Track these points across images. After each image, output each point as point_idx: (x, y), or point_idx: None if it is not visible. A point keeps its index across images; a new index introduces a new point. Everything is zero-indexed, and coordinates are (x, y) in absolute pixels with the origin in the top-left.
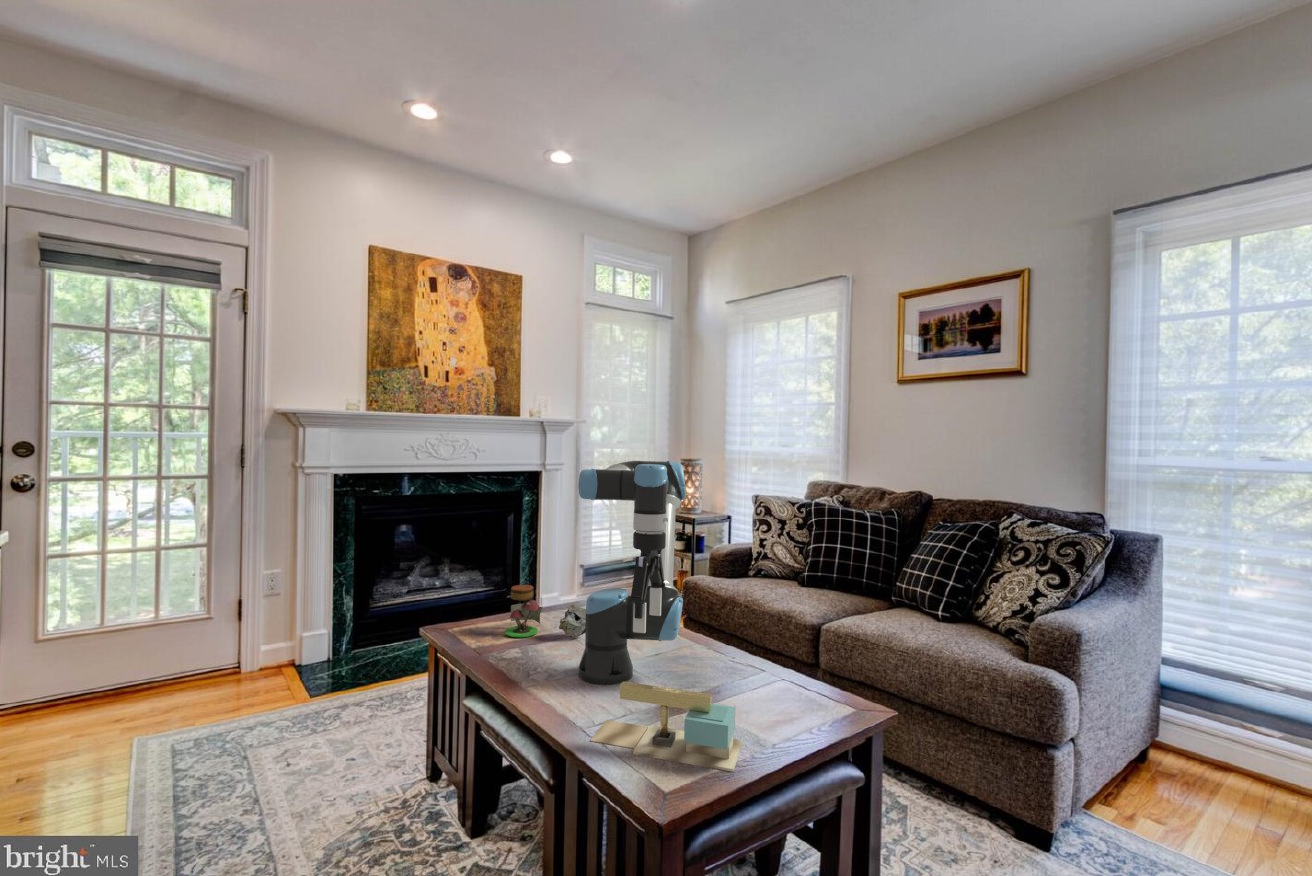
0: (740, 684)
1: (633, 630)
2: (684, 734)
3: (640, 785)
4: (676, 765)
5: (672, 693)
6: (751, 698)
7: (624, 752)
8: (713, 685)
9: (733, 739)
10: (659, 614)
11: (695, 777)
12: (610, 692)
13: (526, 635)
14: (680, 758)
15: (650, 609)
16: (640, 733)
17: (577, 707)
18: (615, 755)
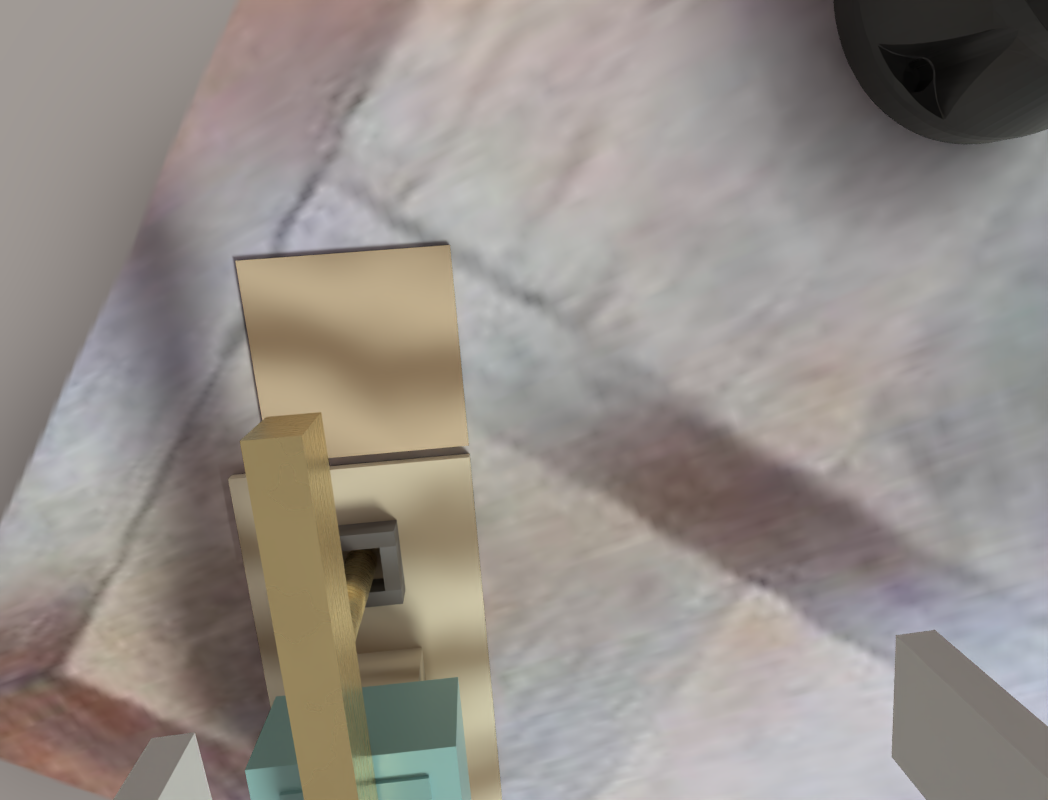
0: (1017, 657)
1: (143, 760)
2: (267, 719)
3: (48, 583)
4: (241, 645)
5: (297, 745)
6: (886, 729)
7: (228, 437)
8: (977, 559)
9: (495, 772)
10: (901, 763)
11: (200, 724)
12: (754, 118)
13: None
14: (268, 656)
15: (942, 694)
16: (397, 439)
17: (522, 27)
18: (187, 414)
